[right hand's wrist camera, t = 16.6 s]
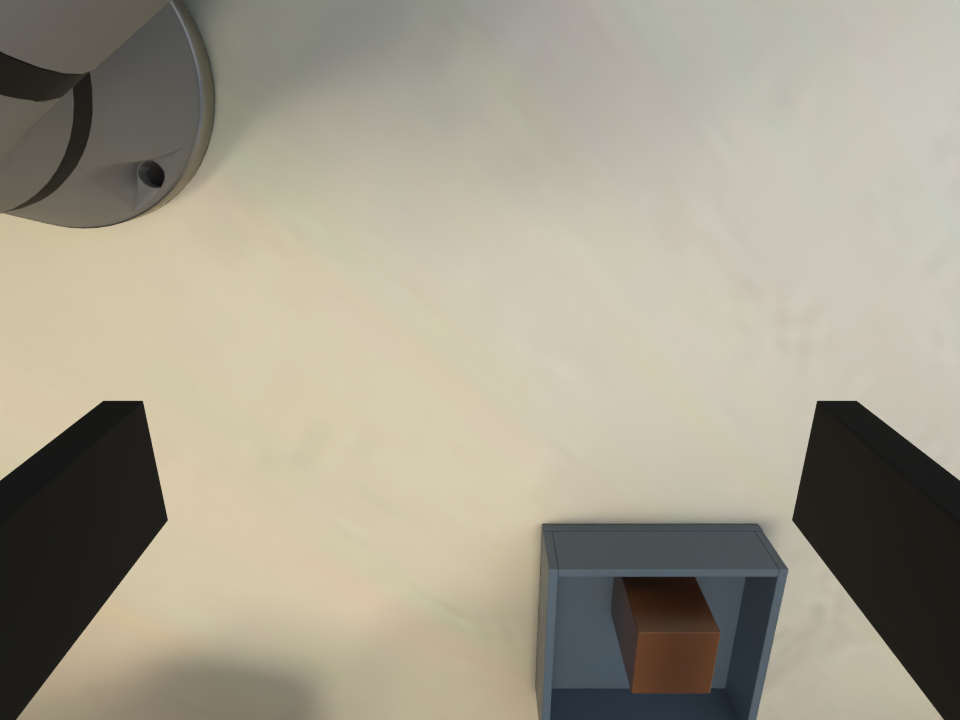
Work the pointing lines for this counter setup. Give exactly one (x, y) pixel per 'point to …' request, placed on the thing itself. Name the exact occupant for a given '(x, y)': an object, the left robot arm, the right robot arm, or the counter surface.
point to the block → (665, 634)
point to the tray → (591, 634)
